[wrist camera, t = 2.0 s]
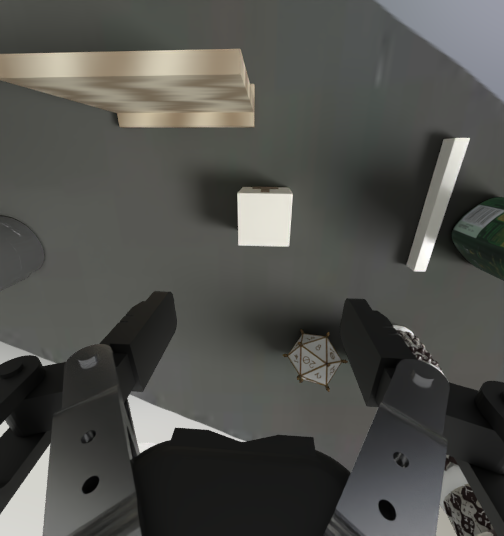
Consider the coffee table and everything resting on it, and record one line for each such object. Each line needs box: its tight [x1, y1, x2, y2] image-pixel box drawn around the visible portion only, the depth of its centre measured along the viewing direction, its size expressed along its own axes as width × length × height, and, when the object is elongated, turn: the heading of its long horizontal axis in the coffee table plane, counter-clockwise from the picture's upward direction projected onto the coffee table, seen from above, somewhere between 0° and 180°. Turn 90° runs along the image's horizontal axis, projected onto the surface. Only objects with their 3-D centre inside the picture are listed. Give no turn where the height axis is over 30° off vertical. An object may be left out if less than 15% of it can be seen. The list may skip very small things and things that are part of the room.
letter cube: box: [237, 187, 293, 247], centre depth 30 cm, size 6×6×6 cm
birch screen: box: [0, 49, 255, 128], centre depth 22 cm, size 16×4×15 cm, turn 90°
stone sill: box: [407, 138, 470, 271], centre depth 31 cm, size 16×2×2 cm, turn 0°
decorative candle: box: [393, 325, 497, 536], centre depth 30 cm, size 9×9×25 cm
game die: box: [283, 329, 348, 391], centre depth 38 cm, size 9×8×10 cm
